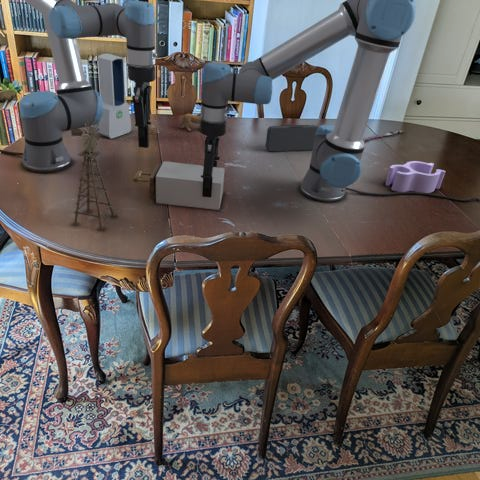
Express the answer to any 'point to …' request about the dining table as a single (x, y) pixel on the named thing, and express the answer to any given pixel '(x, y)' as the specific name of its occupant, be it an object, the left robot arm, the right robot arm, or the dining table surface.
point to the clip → (414, 177)
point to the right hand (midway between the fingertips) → (209, 187)
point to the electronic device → (113, 97)
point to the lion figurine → (188, 118)
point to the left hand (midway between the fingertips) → (143, 146)
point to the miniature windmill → (85, 153)
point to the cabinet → (188, 186)
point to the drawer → (151, 181)
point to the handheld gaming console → (290, 137)
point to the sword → (381, 136)
